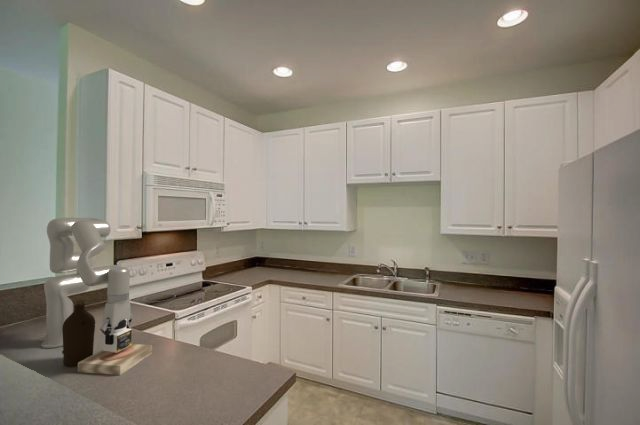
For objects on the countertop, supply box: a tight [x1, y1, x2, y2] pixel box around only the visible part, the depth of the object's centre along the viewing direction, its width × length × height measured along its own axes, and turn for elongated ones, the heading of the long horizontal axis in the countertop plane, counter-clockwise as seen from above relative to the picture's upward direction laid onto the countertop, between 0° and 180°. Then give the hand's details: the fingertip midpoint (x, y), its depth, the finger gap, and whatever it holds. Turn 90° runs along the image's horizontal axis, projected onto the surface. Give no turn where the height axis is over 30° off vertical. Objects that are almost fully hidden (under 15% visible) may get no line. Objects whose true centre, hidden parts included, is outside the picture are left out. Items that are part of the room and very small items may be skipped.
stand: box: [77, 343, 153, 376], centre depth 122 cm, size 18×18×4 cm
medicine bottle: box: [102, 319, 133, 353], centre depth 122 cm, size 7×7×12 cm
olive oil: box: [61, 299, 96, 368], centre depth 122 cm, size 11×11×25 cm
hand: (117, 339), depth 122 cm, fingers closed on medicine bottle, 7 cm apart
